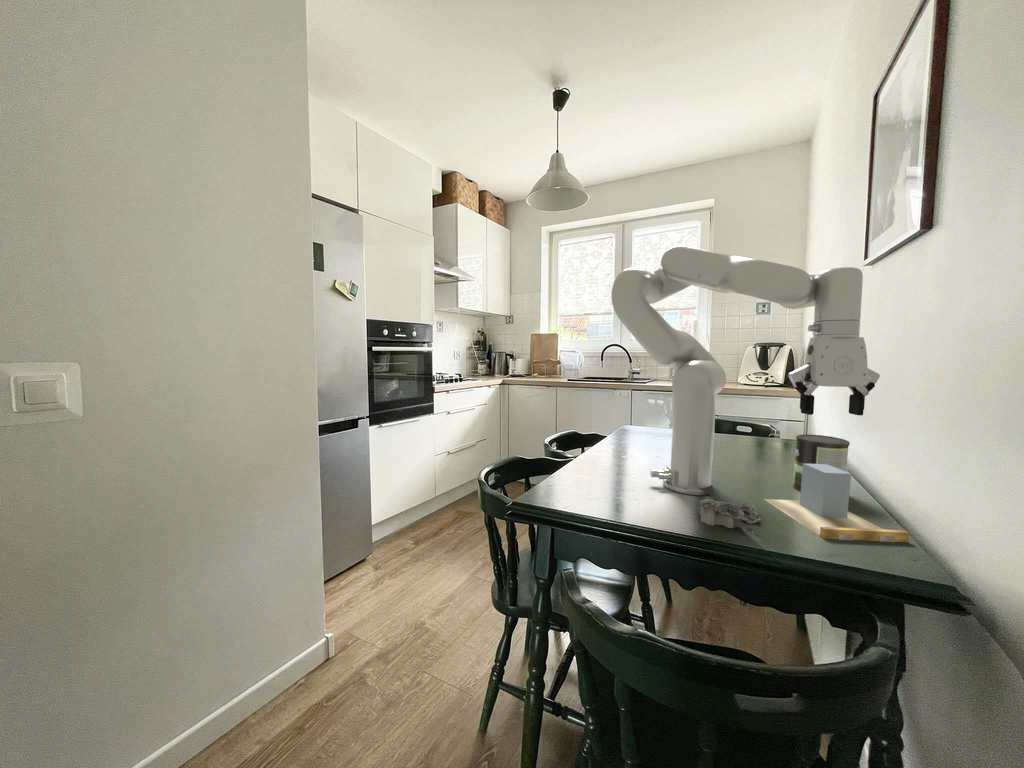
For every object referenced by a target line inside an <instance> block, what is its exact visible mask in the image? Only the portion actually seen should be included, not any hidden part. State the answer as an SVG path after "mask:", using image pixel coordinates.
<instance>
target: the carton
mask: <svg viewBox="0 0 1024 768" xmlns="http://www.w3.org/2000/svg"><path fill="white" fill-rule="evenodd" d="M851 479H852V473H851V472H847V471H846V472H845V471H843V470H840V469H838V468H835V467H833V466H830V465H828V464H805V463H803V470H802V482H801V492H800V496H799V498H800V499H799V500H800V505H802V506H804V507H805V508H807V509H809V510H810V511H812V512H814V513H816V514H817V515H819V516H821V517H837V518H847V514H848V511H849V502H850V501H849V500H850V491H851V490H850V489H851V482H852V481H851Z"/></svg>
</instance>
